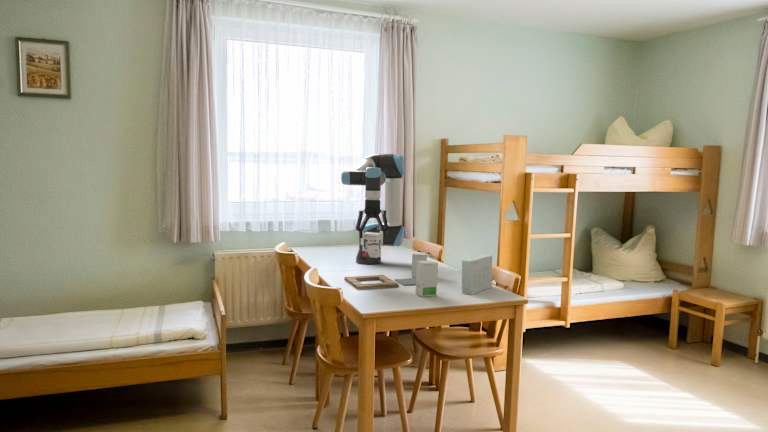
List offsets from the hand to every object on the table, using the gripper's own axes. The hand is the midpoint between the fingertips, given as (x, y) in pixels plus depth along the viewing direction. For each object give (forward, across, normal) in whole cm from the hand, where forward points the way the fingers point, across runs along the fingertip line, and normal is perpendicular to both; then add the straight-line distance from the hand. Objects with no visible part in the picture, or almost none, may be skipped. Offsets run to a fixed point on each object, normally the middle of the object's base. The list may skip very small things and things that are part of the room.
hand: (371, 244), depth 266 cm
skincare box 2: (+20, +45, -26) cm, 56 cm away
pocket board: (+20, 0, 0) cm, 20 cm away
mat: (+20, +20, -3) cm, 28 cm away
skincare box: (+20, +17, -28) cm, 38 cm away
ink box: (+6, 0, 0) cm, 6 cm away
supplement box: (+20, +30, +8) cm, 37 cm away
